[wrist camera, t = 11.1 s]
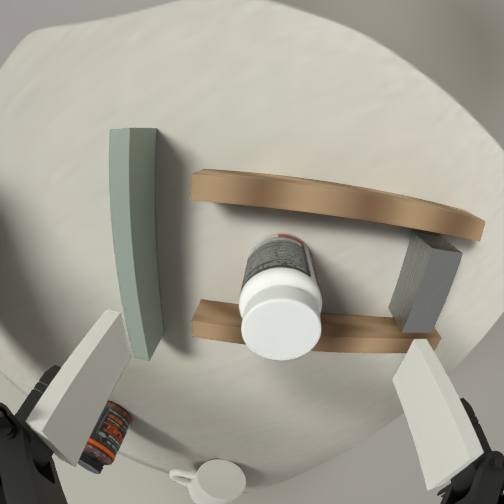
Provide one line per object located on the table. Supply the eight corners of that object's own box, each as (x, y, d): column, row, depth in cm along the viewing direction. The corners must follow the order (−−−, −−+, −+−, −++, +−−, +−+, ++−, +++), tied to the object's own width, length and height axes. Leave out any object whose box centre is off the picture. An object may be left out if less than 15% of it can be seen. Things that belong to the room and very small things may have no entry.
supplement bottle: (140, 420, 33) (114, 480, 22) (119, 423, 35) (95, 476, 24) (109, 395, 31) (77, 456, 21) (92, 400, 33) (62, 454, 23)
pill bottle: (235, 256, 21) (212, 325, 13) (285, 218, 20) (289, 273, 12) (275, 299, 22) (272, 377, 15) (323, 266, 21) (345, 337, 13)
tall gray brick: (388, 307, 22) (401, 332, 18) (412, 231, 19) (432, 248, 16) (416, 309, 22) (430, 332, 18) (440, 236, 19) (462, 253, 16)
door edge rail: (150, 329, 25) (133, 357, 21) (138, 129, 18) (109, 129, 14) (164, 332, 25) (149, 361, 21) (156, 128, 18) (130, 127, 14)
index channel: (201, 314, 24) (192, 336, 21) (204, 169, 19) (191, 174, 16) (422, 332, 22) (433, 351, 20) (464, 210, 18) (485, 221, 15)
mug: (249, 464, 36) (244, 504, 28) (233, 479, 40) (228, 512, 32) (177, 446, 35) (165, 485, 28) (172, 463, 39) (162, 496, 32)
